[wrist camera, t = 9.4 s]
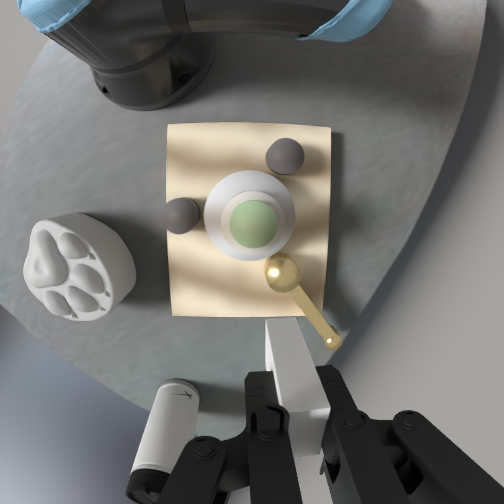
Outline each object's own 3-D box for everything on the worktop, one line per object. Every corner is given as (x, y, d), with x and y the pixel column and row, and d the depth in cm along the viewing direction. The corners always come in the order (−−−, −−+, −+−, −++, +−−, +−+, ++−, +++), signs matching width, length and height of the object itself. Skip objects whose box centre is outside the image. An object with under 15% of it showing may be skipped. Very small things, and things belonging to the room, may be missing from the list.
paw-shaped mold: (68, 203, 32) (29, 209, 23) (149, 248, 34) (123, 267, 25) (49, 271, 34) (12, 290, 25) (122, 316, 35) (96, 348, 27)
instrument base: (171, 128, 31) (140, 100, 19) (325, 130, 32) (366, 106, 20) (175, 308, 35) (151, 359, 24) (317, 308, 36) (348, 356, 25)
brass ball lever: (257, 265, 32) (259, 273, 29) (283, 246, 32) (287, 251, 29) (320, 345, 35) (326, 357, 32) (343, 328, 35) (351, 339, 32)
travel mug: (189, 373, 38) (165, 490, 18) (206, 405, 39) (194, 517, 20) (151, 379, 38) (110, 487, 18) (169, 410, 39) (143, 515, 20)
